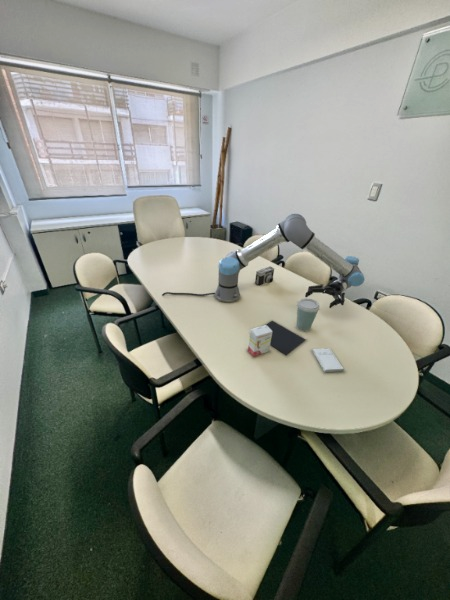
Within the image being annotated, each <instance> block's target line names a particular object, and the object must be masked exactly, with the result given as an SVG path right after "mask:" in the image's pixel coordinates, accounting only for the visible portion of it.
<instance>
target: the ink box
mask: <svg viewBox="0 0 450 600" xmlns="http://www.w3.org/2000/svg"><path fill="white" fill-rule="evenodd" d="M272 332H273V331H272V330H271V329H270V328H269V327H268V326H267V325H266V324H265V325H261V326H258V327H254V328H251V329H250V331H249V339H248V346H247V347H248V348H247V351H248V352H249V353H250V354H251V356H252V357H253V358H254V357H257V356H259V355H263V354H265V353H268V352H270V347H271V345H270V343H271V337H272Z"/></svg>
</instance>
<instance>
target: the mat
mask: <svg viewBox="0 0 450 600" xmlns="http://www.w3.org/2000/svg"><path fill="white" fill-rule="evenodd" d="M265 325H267V326H268V327H269V328H270V329H271V330H272V331H273V332H272V337H271V343H270V347H272V348H273V349H275V350H277V351H278V352H280V353H281V354H283V355H284V356H287V355H289V354H290V353H291V352H293V351H294V350H296V348H297V347H300V345H301V344H303V343H304V342H305V341H306V338H305V337H302V336H300V335H299V334H297V333H295V332H294V331H292V330H290V329H288V328H286V327H285V326H283V325H282V324H281V325H280V324H279V323H277V322H276V321H273V320H271V321H269V322H268V323H266V324H265Z"/></svg>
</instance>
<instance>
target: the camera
mask: <svg viewBox="0 0 450 600" xmlns="http://www.w3.org/2000/svg"><path fill="white" fill-rule="evenodd" d="M274 273H275V268H274V267H273V266H267V267H265V268H260V269H257V270H256V273H255V279H254V284H255V285H256V286H259V287H261V286H263V285H266V284H271V283H272V282H273V281H274Z"/></svg>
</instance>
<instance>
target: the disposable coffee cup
mask: <svg viewBox="0 0 450 600" xmlns="http://www.w3.org/2000/svg"><path fill="white" fill-rule="evenodd" d="M296 307H297V309H296V328H297V329H298V330H300V331H302V332H307V331H309V330H310V329H311V328H312V325H313V323H314V321H315V319H316V316H317V314H318V312H319V311H320V303H319V302H318V300H315V299H313V298H308V297H304V298H301V299H300V300H298V301H297V303H296Z"/></svg>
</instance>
